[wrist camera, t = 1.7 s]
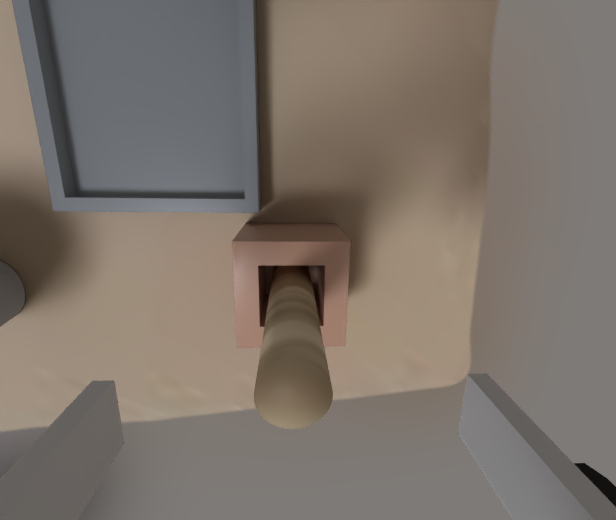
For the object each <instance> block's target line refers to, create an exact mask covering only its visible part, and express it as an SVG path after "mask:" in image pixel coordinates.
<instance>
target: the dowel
mask: <svg viewBox="0 0 616 520" xmlns="http://www.w3.org/2000/svg"><path fill="white" fill-rule="evenodd" d="M332 397H333V391H332V386H331V381H330V376H329V370H328V365H327V360H326V355H325V349H324V344H323V339H322V334H321V328H320V323H319V318H318V313H317V307H316V302H315V297H314V292H313V286H312V281H311V276H310V271H309V265H274V269H273V275H272V282H271V288H270V295H269V301H268V307H267V314H266V320H265V327H264V333H263V339H262V346H261V352H260V359H259V365H258V372H257V378H256V384H255V391H254V402H255V406H256V408H257V410H258V412H259V413H260V415H261V416H262V417H263V418H264V419H265V420H266V421H268V422H269V423H271V424H273V425H275V426H278V427H281V428H287V429H298V428H303V427H307V426H309V425H312V424H314V423H315V422H317V421H318V420H320V419H321V418H322V417H323V416H324V415H325V414H326V412H327V411H328V409H329V407H330V405H331V402H332Z"/></svg>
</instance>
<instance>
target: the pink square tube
mask: <svg viewBox="0 0 616 520" xmlns="http://www.w3.org/2000/svg"><path fill="white" fill-rule="evenodd" d="M350 245H351V241H350V240H349V239H348V238H347V237H346V235H345V234H344V233H343V232H342V230H341V229H340V228H339V227H338V225H337V224H330V223H246V224H245V225H244V226H243V228H242V229H241V230H240V232H239V233H238V234H237V235H236V237H235V238H234V239H233V241H232V251H233V272H234V292H235V312H236V332H237V348H258V347H261V346H262V339H263V333H264V327H265V320H266V314H267V307H268V301H269V295H270V288H271V282H272V275H273V269H274V265H309V271H310V276H311V281H312V286H313V292H314V297H315V302H316V307H317V313H318V318H319V323H320V328H321V334H322V339H323V344H324V346H345V342H346V323H347V304H348V284H349V265H350Z"/></svg>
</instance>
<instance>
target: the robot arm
mask: <svg viewBox="0 0 616 520" xmlns="http://www.w3.org/2000/svg"><path fill="white" fill-rule="evenodd" d="M458 434H459V436H460V437H461V439H462V441H463V442H464V444H465V445H466V447H467V448H468V450H469V452H470V453H471V455H472V456H473V458H474V460H475V461H476V462H477V464H478V466H479V467H480V469H481V471H482V472H483V474H484V475H485V477H486V478H487V480H488V482H489V483H490V485H491V486H492V488H493V489H494V491H495V493H496V494H497V496H498V497H499V499H500V500H501V502H502V504H503V505H504V507H505V508H506V510H507V511H508V513H509V514H510V516H511V518H512V519H513V520H616V487H615V486H614V485H613V484H612V483H611V482H610V481H609V480H608V479H607V478H606V477H604V476H603V475H601V474H600V473H598V472H597V471H595V470H594V469H592V468H590V467H589V466H588V465H586V464H585V463H577V464H576V463H575V464H574V463H573V462H572V461H571V460H570V459H569V458H568V457H567V456H566V455H565V454H564V453H563V452H562V451H561V450H560V449H559V448H558V447H557V446H556V445H555V444H554V442H553V441H552V440H550V438H549V437H548V436H547V435H546V434H545V433H544V432H543V431H542V430H541V429H540V428H539V427H538V426H537V425H536V424H535V423H534V422H533V421H532V420H531V419H530V418H529V417H528V416H527V414H526V413H525V412H523V410H522V409H521V408H520V407H519V406H518V405H517V404H516V403H515V402H514V401H513V400H512V399H511V398H510V397H509V396H508V395H507V394H506V393H505V392H504V391H503V390H502V389H501V388H500V387H499V385H498V384H497V383H496V382H495V381H494V380H493V379H492V378H491V377H490V376H489V375H488V374H468V375H467V381H466V387H465V393H464V400H463V406H462V412H461V418H460V424H459V431H458ZM123 444H124V438H123V432H122V425H121V419H120V413H119V407H118V401H117V395H116V388H115V382H114V380H113V381H92V382H91V383H90V384H89V385H88V386H87V387H86V388H85V389H84V390H83V391H82V392H81V393H80V395H79V396H78V397H77V398H76V399H75V400H74V401H73V402H72V403H71V404H70V405H69V406H68V407H67V408H66V409H65V411H64V412H63V413H62V414H61V415H60V416H59V417H58V418H57V419H56V420H55V421H54V422H53V423H52V424H51V425H50V426H49V428H48V429H47V430H46V431H45V432H44V433H43V434H42V435H41V436H40V437H39V438H38V439H37V440H36V442H34V444H33V445H32V446H31V447H30V448H29V449H28V450H27V451H26V452H25V453H24V454H23V455H22V456H21V457H20V458H19V460H18V461H17V462H16V463H15V464H14V465H13V466H12V467H11V468H10V469H9V470H8V471H7V472H6V473H5V474H4V475H3V477H2V478H1V479H0V520H78V518H79V517H80V515H81V513H82V512H83V510H84V508H85V507H86V505H87V503H88V502H89V500H90V499H91V497H92V495H93V494H94V492H95V490H96V488H97V487H98V485H99V484H100V482H101V480H102V479H103V477H104V475H105V474H106V472H107V471H108V469H109V467H110V466H111V464H112V462H113V461H114V459H115V457H116V456H117V454H118V453H119V451H120V449H121V447H122V446H123Z"/></svg>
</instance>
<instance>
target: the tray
mask: <svg viewBox="0 0 616 520" xmlns="http://www.w3.org/2000/svg"><path fill="white" fill-rule="evenodd" d="M12 4H13V9H14V14H15V19H16V24H17V29H18V34H19V39H20V44H21V49H22V54H23V60H24V65H25V70H26V75H27V80H28V85H29V90H30V95H31V100H32V105H33V110H34V116H35V121H36V126H37V131H38V136H39V141H40V146H41V151H42V156H43V161H44V166H45V172H46V177H47V182H48V187H49V192H50V197H51V202H52V207H53V211H96V212H229V213H259V211H260V210H261V178H260V136H259V94H258V52H257V10H256V0H12Z"/></svg>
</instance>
